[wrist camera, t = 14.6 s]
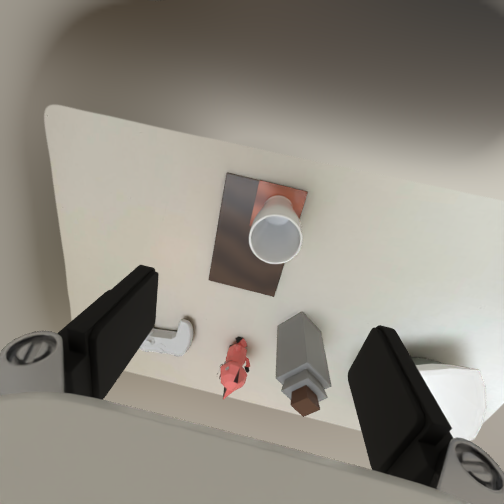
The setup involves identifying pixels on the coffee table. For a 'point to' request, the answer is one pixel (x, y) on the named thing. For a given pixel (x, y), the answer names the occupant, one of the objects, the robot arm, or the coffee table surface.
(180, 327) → the game controller
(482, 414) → the bowl
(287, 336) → the perfume bottle
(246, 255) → the corner board
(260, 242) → the drinking glass
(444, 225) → the coffee table surface
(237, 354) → the cat figurine
